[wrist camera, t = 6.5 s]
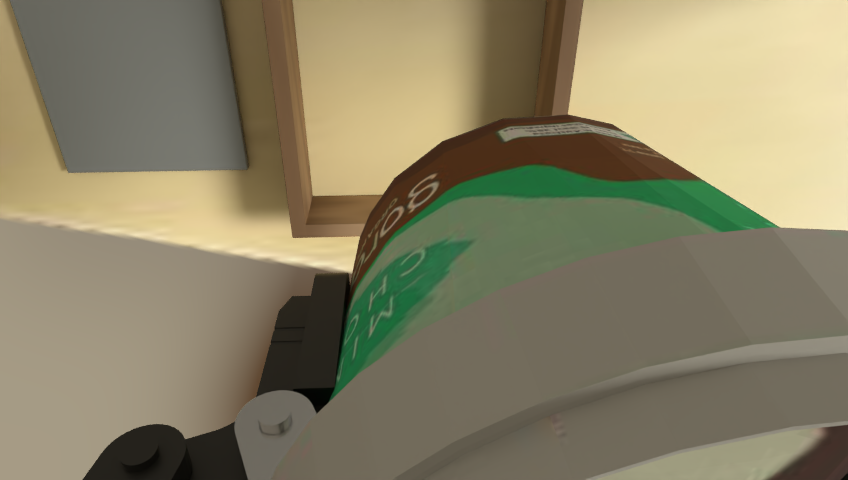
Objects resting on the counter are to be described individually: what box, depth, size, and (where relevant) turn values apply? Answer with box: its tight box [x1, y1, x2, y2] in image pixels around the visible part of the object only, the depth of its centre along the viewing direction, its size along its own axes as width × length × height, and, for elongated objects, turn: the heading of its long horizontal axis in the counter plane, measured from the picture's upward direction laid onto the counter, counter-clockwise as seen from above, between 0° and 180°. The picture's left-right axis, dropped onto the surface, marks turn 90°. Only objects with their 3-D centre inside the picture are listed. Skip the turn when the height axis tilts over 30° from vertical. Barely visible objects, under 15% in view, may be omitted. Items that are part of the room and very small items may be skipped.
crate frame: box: [262, 0, 583, 238], centre depth 30 cm, size 15×17×4 cm
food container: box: [271, 115, 848, 480], centre depth 11 cm, size 12×6×10 cm, turn 162°
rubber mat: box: [10, 0, 249, 173], centre depth 30 cm, size 10×13×1 cm
